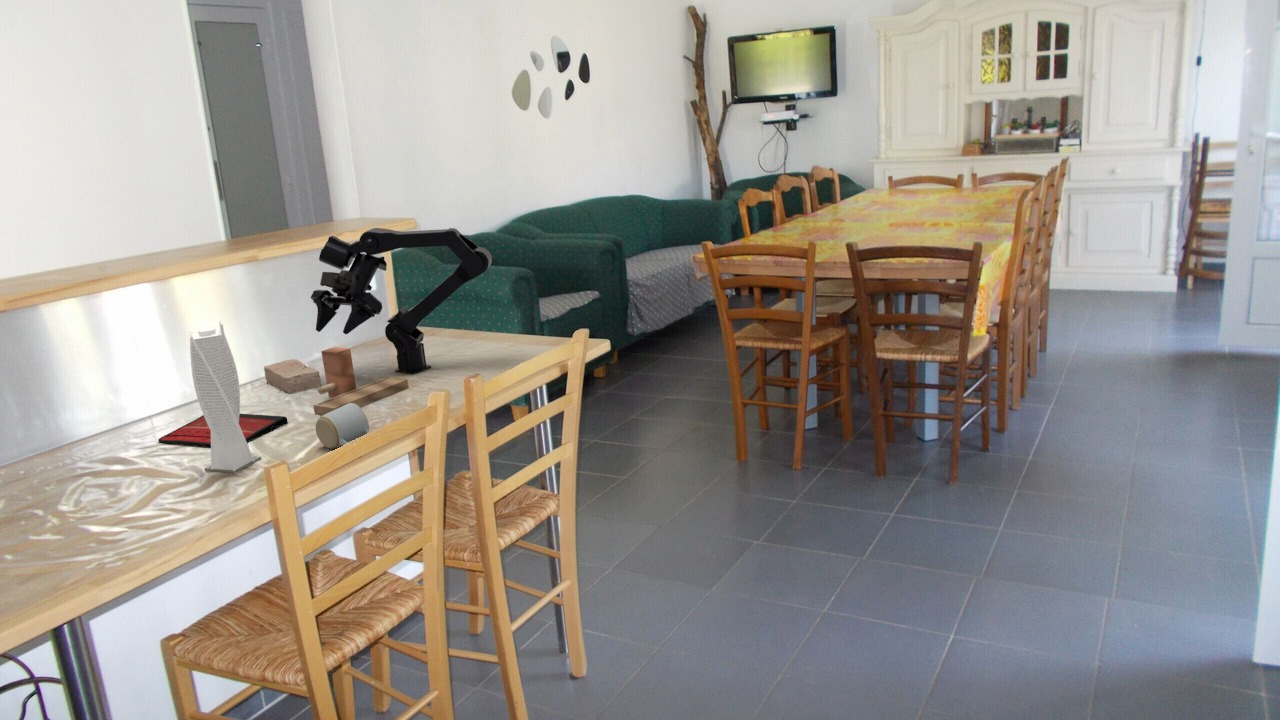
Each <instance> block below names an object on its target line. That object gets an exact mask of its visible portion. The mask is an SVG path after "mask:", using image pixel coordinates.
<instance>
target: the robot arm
mask: <svg viewBox="0 0 1280 720" xmlns="http://www.w3.org/2000/svg"><path fill="white" fill-rule="evenodd" d="M445 246H446V247H447V248H449V249H450V251H452V252H453V254H454V255H455V256H456V257H457V258H458V259H459V260H460V261H461V262H460V263H459V265H458V266H457V267H456V269H455V270H454V271H453V272H452V273H451V274H450V275H449V276H448V277H446V278H445V280H443V281H442V282H441V283H440V284H439V285H437V286H436V287H435V288H433V290H431V292H430V293H429V294H427V295H426V296H425V297H424V298H423V299H422V300H420V301H419V302H418V303H417V304H416V305H414V306H413V307H410V308H409V309H408V308H407V307H406V305H404V306H403V307H402V308H401V309H400V310H399V311H398V312H397V313H396V314H393V315H392V316H391V317H390V318H389V319H388V320H387V323H388V324H386V327H385V329H384V333H385V337H386V338H387V340H388V341H389V342H390V343H391V344H393V347H394V348H395V349H396V354H397V355H396V361H397V362H396V363H397V367H398V368H397V369H394V373H401V374H411V375H414V374H417V373H420V372H423V371H425V370H428V369H430V368H432V365H431V364H427V361H426V353H425V347H424V346H425V345H424V343H423V341H424V337H425V333H424V332H423V331H421V330H420V329H419V328H418V326H420V324H421V323H422V322H423V320H424V319H425V318H426V317H427V316H429V314H431V313H432V312H433V311H434V310H436V308H438V307H439V306H440V305H441V304H442V303H443V302H444V301H445V300H447V299H448V298H449V297H450V296H451V295H452V294H454V293H455V292H456V291H457V290H458V289H459V288H460V287H462V286H463V285H465V284H466V283H468V282H470V281H471V280H474V279H476V278H477V277H478V276H480V275H482V274H483V273H485V272H486V271H487V270H488V268H490V267H491V264H492V262H493V261H492V260H493V259H492V257H493V256H492V254H491V252H490V251H489V250H488V249H487V248H485V247H482V246H480V247H479V246H478V245H477V244H476V243H475V242H474V241H472V240H471V239H469V238H468V237H466V236H465V235H463V234H462V233H461V232H460V231H459V230H458V229H457V228H454V227H450V228H446V229H426V230H411V231H410V230H409V231H407V230H406V231H399V230H394V229H390V228H389V229H388V228H381V227H374V228H370V229H368V230H367V231H365V232H363V233H362V234H361V235H360V238H359V240H358V241H357V240H356V241H354V242H352V243H349V242H347V241H345V240H343V239H340V238H338V237H336V236H335V235H330V236H328V239H327V241H326V242H325V244H324V246H323V248H322V249H321V251H320V253H319V258H318V261H319V262H321V263H323V264H326V265H328V266H331V267H333V268H335V269H338V270H340V272H334V271H322V272H321V273H322V274H321V279H320V284H319V285H320V286H321V287H329V288H331V291H329V290H328V289H316V290H315V289H314V290H313V292H312V294H311V295H310V299H311V300H312V302H313V303H314V304H315V305H316V308H317V313H316V314H317V315H316V323H315V324H316V325H315V331H317V332H318V333H320V332H321V331H322V330H323V329H325V327H327V325H328V324H329V323H330V322H331V321H332V320H333V318H335V316H336V315H337V313H338V312H337V311H338V310H339V309H340V306H350V308H351V310H350V313H349V316H348V318H347V320H346V323H345V325H344V327H343V329H342V333H343V334H344V335H348V334H350V333H351V332H352V331H353V330H355V329H356V328H358V327H359V326H360V325H362V324H363V323H365V322H366V321H368V320H369V319H371V318H374V317H375V315H380V314H381V312H382V310H383V303H382V301H380V300H379V299H378V298H377V297H376V296H375V295H374V294H373V293H371V290H372V289H373V286H372V285H371V283H372V280H373V278H374V276H375V274H376V272H377V271H378V269H379V270H382V271H384V272H385V271H387V270H388V269H387V267H388V264H387V263H388V262H387V261H386V260H385V256H381V257H378V256H375V255H379V254H382V253H383V254H384V253H388V252H391V251H394V250H398V249H399V250H400V249H408V248H409V249H412V248H428V247H429V248H430V247H445ZM364 253H365V254H364ZM345 268H346V269H348V270H346V269H345ZM344 269H345V270H344ZM369 291H370V292H369ZM332 292H333V293H332ZM334 294H336V295H334Z"/></svg>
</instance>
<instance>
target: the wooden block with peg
mask: <svg viewBox="0 0 1280 720" xmlns="http://www.w3.org/2000/svg"><path fill="white" fill-rule="evenodd" d="M321 357H322V363H323V368H324V369H323V370H324V375H325V376H324V377H325V381H326V385H323V386H322V385H321V387H318V388H317V390H318V391H317V392H318V393H319V395H323V394H327V393H328V398H330V399H331V398H333V397H336V396H339V395H341V394H344V393H347V392H349V391H352V390H355V389H357V388H358V387H357V384H356V383H357V382H356V376H355V370H354V364H353V358H352V351H351V348H350V347H343V346H342V347H341V346H334V347H330V348H327V349H324V350H321Z"/></svg>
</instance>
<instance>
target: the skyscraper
mask: <svg viewBox="0 0 1280 720" xmlns="http://www.w3.org/2000/svg"><path fill="white" fill-rule="evenodd" d="M218 324H219V329H218V330H217V329H216V327H208V328H207V327H206V328H202V329H199V330H198V333H193V332H192V331H190V332H189V347H190V348H189V351H190V352H189V353H190V354H189V355H190V365H191V367H190V368H191V375H192V376H191V377H192V381H193V387H194V391H195V394H196V395H195V396H196V397H197V401H198V404H199V406H200V410H201V412H202V416H203V415H204V417H205V420H206V422H207V424H208V426H209V428H210V430H211V447H210V464H211V465H209V466H207V467H206V468H204V471H205V472H216V473H217V472H218V473H228V474H229V473H230V474H235V473H236V474H237V473H238V472H240V471H242V470H244V469H246V468H248V467H249V466H251V465H253V464H255V463H256V462H258V461H259V462H260V461H261V460H262V457H261V456H254V455H253V454H252V452H251V449H250V447H249V445H248V442H246V439H245V437H244V435H243V432H242V430H241V428H240V425H239V414H241V413H240V411H241V390H240V389H241V388H240V387H241V386H240V381H239V374H238V373H239V372H238V370H237V365H236V362H235V358H234V355H233V354H232V350H231V348H230V345H229V342H228V339H227V337H226V334H225V331H224V324H223V321H222V320H221V319H220V320H219V321H218Z"/></svg>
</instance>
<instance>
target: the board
mask: <svg viewBox="0 0 1280 720" xmlns="http://www.w3.org/2000/svg"><path fill="white" fill-rule="evenodd" d="M356 388H357V389H355V390H352V391H349V392H347V393H344V394H341V395H339V396H336V397H333V398H331V397H330V398H328V399H325V400H323V401H319V402H317V403H315V404H313V411H314V415H319V416H323V415H325V414H327V413H329V412H331V411H333V410H336V409H338V408H340V407H342V406H344V405H346V404H349V403H354V404H356V405H358V406H359V407H360V408H361V407H362V408H363V407H365V406H366V405H369V404H371V403H374V402H376V401H378V400H381V399H383V398H386V397H389V396H392V395H393V394H396V393H399V392H401V391H403V390H406V389H408V388H409V382H408V379H406V378H398V377H390V376H389V377H388V376H387V377H384V378H382V379H378V380H376V381H373V382H370V383H368V384H366V385H363V386H360V387H356Z"/></svg>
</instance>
